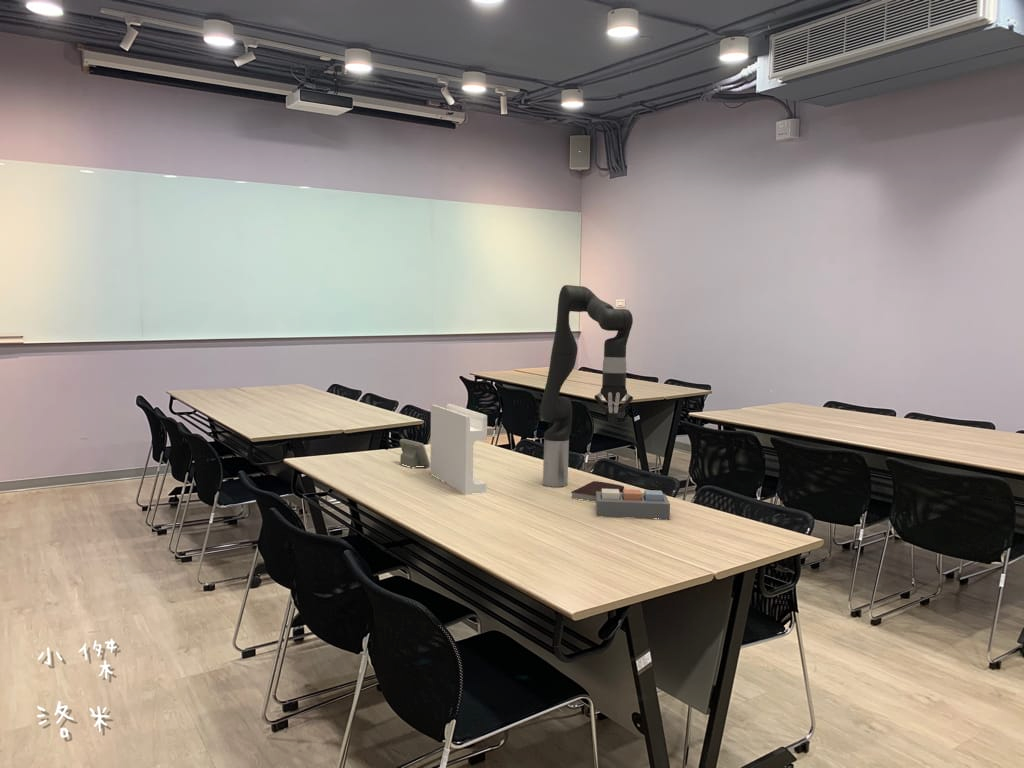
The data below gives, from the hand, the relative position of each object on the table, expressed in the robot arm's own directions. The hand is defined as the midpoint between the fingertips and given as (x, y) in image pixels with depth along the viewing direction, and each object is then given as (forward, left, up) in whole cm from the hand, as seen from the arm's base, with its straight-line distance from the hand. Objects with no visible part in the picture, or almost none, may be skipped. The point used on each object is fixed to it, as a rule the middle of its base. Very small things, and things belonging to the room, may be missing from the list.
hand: (612, 424), depth 238 cm
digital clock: (-78, +59, -29) cm, 102 cm away
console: (+7, 0, -29) cm, 30 cm away
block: (-56, +31, -29) cm, 70 cm away
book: (-3, +21, -30) cm, 37 cm away
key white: (0, 0, -27) cm, 27 cm away
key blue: (+14, 0, -26) cm, 30 cm away
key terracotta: (+7, 0, -26) cm, 27 cm away
